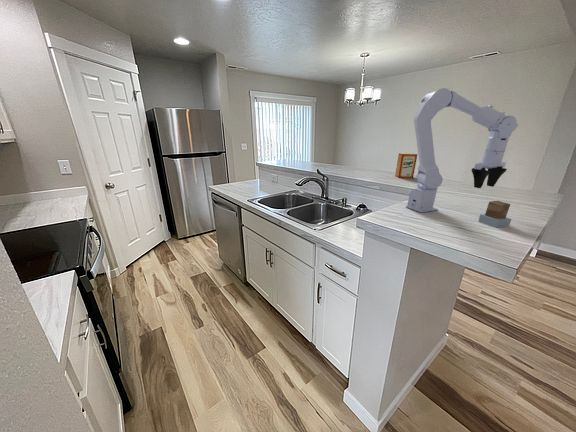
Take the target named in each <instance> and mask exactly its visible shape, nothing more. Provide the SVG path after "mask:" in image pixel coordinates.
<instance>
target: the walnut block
mask: <svg viewBox="0 0 576 432" xmlns="http://www.w3.org/2000/svg"><path fill="white" fill-rule="evenodd" d="M510 207H511V203H508V202H504V201H500V200H493V201H492V200H491V201H488V203H487V207H486V210H485V213H484V214H485V215H486V216H489V217H492V218H495V219H502V218H506V217H507V215H508V213H509V210H510Z"/></svg>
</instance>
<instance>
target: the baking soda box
mask: <svg viewBox="0 0 576 432" xmlns="http://www.w3.org/2000/svg"><path fill="white" fill-rule="evenodd" d="M397 157H398V158H397V163H396V168H395V169H396V170H395V175H394V176H395V177H396V178H398V179H414V174H415V169H416V163H417V160H418V153H413V152H399V153H398V156H397Z"/></svg>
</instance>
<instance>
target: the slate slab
mask: <svg viewBox="0 0 576 432" xmlns="http://www.w3.org/2000/svg"><path fill="white" fill-rule="evenodd" d="M511 222H512V218H510V217H507V216H506V218H502V219H495V218H492V217H489V216H486V215H485V213H483V214H482V213H480V215H479V218H478V223H480V224H481V223H482V224H484V225H487V226H489V227H493V228H495V229H496V228H506V227H510V225H511Z"/></svg>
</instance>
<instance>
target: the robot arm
mask: <svg viewBox="0 0 576 432" xmlns="http://www.w3.org/2000/svg"><path fill="white" fill-rule="evenodd" d="M445 108H453V109H456V110H458V111H459V112H463V113H464V114H467V115H469V116H471V120H472V122H474V123H476V124H477V125H480V126H482V127H485V128H486V129H487V130H488V132H489V134H488V138H487V141H486V146H485V149H484V153H483V155H482V156H483V157H482V158H481V159H482V160H481V162H477V163H475V164H474V167H472V168H471V170H470V171H471V173H472V176H473V187H474V188H475V189H481V188H482V187H483V185H484V184H485V180H486V178H487V181H486V186H487V187H492V188H493V187H495V186H496V183H498V180H499V179H500V178H501V177H502V176H503V175H504V173H506V172H507V171H508V170H507V169H508V168H505V167H506V164H507V162H504V161H503V158H504V156H505V152H506V150H507V149H506V148H507V146H508V143H509V140H510V137H511V136H512V133H514V131H515V130H516V129H517V128H518V125H519V123H518V120H517V119H516V117H515V116H514V115H506V112H505V111H499V110H497V109H496V108H494V105H492V104H488V105H487V104H484V105H481V106H479V105H478V104H476V103H474V102H473V101H470V100H469V99H468V98H466V97H463V96H462V95H461V94H458V93H457V92H456V91H453V90H450V89H449V88H445V87H442V88H439V89H437V90H434V91H430V92H428V93H427V94H425V95H424V96H423V97H422V98H421V100H420V101H419V104H418V108H417V111H416V113H415V116H414V118H413V123H414V129H415V131H414V132H415V138H416V146H417V156H418V162H419V165H418V167H417V175H416V181H417V185H416V187H415V188H414V189H412V190H410V192H409V195H408V199H407V204H406V205H405V208H407V209H410V210H413V211H416V212H419V213H425V212H433V211H438V210H439V209H438V208H437V207H434V204H435V201H436V196H437V192H438V188H439V187H441V185H442V183H443V182H444V181H443V176H442V174H441V173H440V171H439V167H438V166H437V165H438V164H437V163H436V155H435V145H434V140H433V129H432V120H433V118H434V117H435V116H436V115H437V114H438V113H439V112H441V111H442V110H444V109H445Z"/></svg>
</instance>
